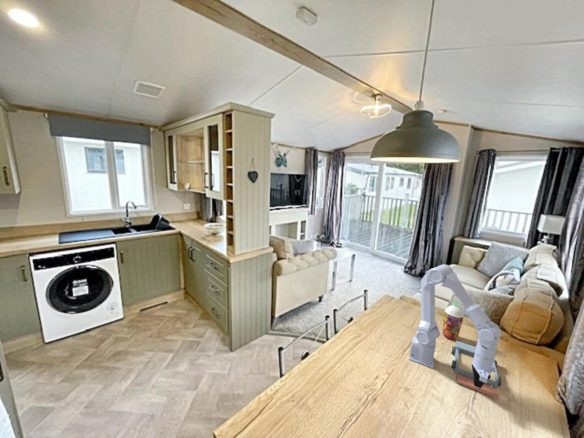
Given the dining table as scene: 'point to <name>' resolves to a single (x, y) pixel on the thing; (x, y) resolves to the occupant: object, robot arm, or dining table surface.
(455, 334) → the smoothie
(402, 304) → the dining table surface
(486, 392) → the tailgate
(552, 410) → the dining table surface
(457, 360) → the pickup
